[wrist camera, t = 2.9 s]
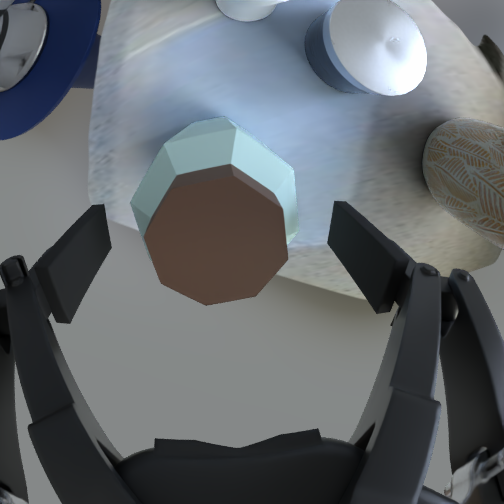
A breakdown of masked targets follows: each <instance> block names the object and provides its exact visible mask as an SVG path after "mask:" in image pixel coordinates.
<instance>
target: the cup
mask: <svg viewBox="0 0 504 504" xmlns="http://www.w3.org/2000/svg"><path fill="white" fill-rule="evenodd" d="M285 1H288V0H216V3H217V6H218V8H219V9H220V11H221V12H223V13H224V14H225V15H226V16H228V17H230V18H232V19H235V20H238V21H247V22H250V21H257V20H260V19H263V18H265V17H267V16H268V15H270V14H271V13H272V12H273V10H274V9H275V7H276V5H277V4H278V3H281V2H285Z"/></svg>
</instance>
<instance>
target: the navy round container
mask: <svg viewBox="0 0 504 504" xmlns="http://www.w3.org/2000/svg"><path fill="white" fill-rule="evenodd" d="M305 51H306V55H307V59H308V61H309V63H310V65H311V67H312V68H313V70H314V71H315V73H316V74H317V75H318V76H319V77H320V78H321V79H322V80H323V81H324V82H325V83H327V84H328V85H330V86H331V87H333V88H335V89H337V90H340V91H343V92H347V93H371V94H375V95H386V96H398V95H403V94H406V93H408V92H410V91H411V90H413V89H414V88H415V87H416V86H417V85H418V84H419V83H420V81H421V80H422V78H423V76H424V73H425V69H426V63H427V54H426V47H425V44H424V40H423V38H422V35H421V33H420V31H419V29H418V27H417V26H416V24H415V22H414V21H413V20H412V19H411V17H410V16H409V15H408V14H407V13H406V12H405V11H404V10H403V9H402V8H401V7H399V6H398V5H397V4H395V3H394V2H392V1H390V0H340V1H339V2H337V3H336V4H334V5H333V6H332V7H331V8H330V10H328V11H327V12H326V13H324V14H323V15H321V16H320V17H318V18H317V19H316V20H315V21H314V22H313V23H312V24H311V25H310V26H309V28H308V30H307V33H306V36H305Z"/></svg>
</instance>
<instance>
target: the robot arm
mask: <svg viewBox="0 0 504 504" xmlns="http://www.w3.org/2000/svg"><path fill="white" fill-rule="evenodd" d="M14 1H15V0H0V92H2V91H7V90H10V89H12V88H14V87H15V86H17V85H18V84H19V83H21V82H22V81H23V80H24V79H25V78H26V77H27V76H28V74H29V73H30V72H31V71H32V69H33V68H34V66H35V65H36V63H37V62H38V60H39V58H40V56H41V54H42V52H43V50H44V48H45V45H46V42H47V39H48V35H49V28H50V21H49V15H48V13H47V11H46V10H45V9H44V8H43V7H42V6H40V5H37V4H34V2H35V1H36V0H31V1H30V2H29V3H21V4H15V5H11V4H12V3H13V2H14ZM327 244H328V245H329V246H330V248H331V249H332V250H333V252H334V253H335V254H336V256H337V257H338V259H339V260H340V261H341V263H342V264H343V266H344V267H345V268H346V270H347V271H348V273H349V274H350V275H351V277H352V278H353V280H354V281H355V283H356V284H357V285H358V287H359V288H360V290H361V291H362V293H363V294H364V296H365V297H366V299H367V300H368V302H369V303H370V305H371V306H372V307H373V309H374V311H375V312H376V314H379V313H385V312H390V311H391V309H392V306H393V303H394V301H395V302H396V303H397V304H398V306H399V307H398V309H397V312H396V314H395V316H394V319H393V321H392V323H391V326H392V330H391V334H390V337H389V341H388V344H387V348H386V351H385V354H384V357H383V360H382V363H381V366H380V369H379V372H378V375H377V378H376V381H375V383H374V386H373V389H372V391H371V394H370V397H369V399H368V402H367V404H366V407H365V409H364V412H363V414H362V416H361V419H360V421H359V423H358V426H357V428H356V430H355V432H354V434H353V435H352V437H351V438H350V440H349V442H345V441H342V440H337V439H332V438H325V437H321V436H320V432H319V429H318V428H317V429H312V430H307V431H301V432H296V433H289V434H281V435H278V436H275V437H273V438H269V439H267V440H264V441H261V442H258V443H255V444H252V445H249V446H245V447H242V448H233V447H227V446H221V445H215V444H211V443H206V442H201V441H197V440H174V439H156V438H155V444H154V448H150V449H146V450H142V451H139V452H137V453H134V454H132V455H130V456H128V457H126V458H123V457H122V456H121V455H120V453H119V452H118V451H117V450H116V449H115V448H114V446H113V445H112V443H111V442H110V441H109V439H108V437H107V436H106V434H105V433H104V431H103V430H102V428H101V426H100V425H99V423H98V422H97V420H96V418H95V417H94V415H93V413H92V412H91V410H90V408H89V406H88V404H87V403H86V401H85V399H84V397H83V395H82V393H81V391H80V390H79V388H78V386H77V384H76V382H75V380H74V378H73V375H72V374H71V371H70V369H69V367H68V365H67V363H66V360H65V358H64V356H63V353H62V351H61V349H60V346H59V344H58V341H57V339H56V336H55V334H54V331H53V328H52V326H51V323H50V321H49V319H48V317H49V315H50V314H51V312H52V314H53V316H54V318H55V320H56V322H57V323H67V324H70V323H71V321H72V319H73V317H74V315H75V313H76V311H77V309H78V307H79V305H80V302H81V301H82V299H83V297H84V295H85V293H86V291H87V290H88V288H89V286H90V284H91V282H92V281H93V279H94V277H95V275H96V273H97V272H98V270H99V268H100V266H101V265H102V263H103V261H104V260H105V258H106V256H107V255H108V253H109V251H110V250H111V248H112V247H111V241H110V236H109V230H108V225H107V219H106V213H105V206H104V204H100V205H92V206H91V207H90V208H89V209H88V210H87V211H86V212H85V213H84V214H83V215H82V216H81V217H80V218H79V219H78V220H77V221H76V222H75V223H74V224H73V225H72V226H71V227H70V228H69V229H68V230H67V231H66V232H65V233H64V235H63V236H62V237H61V238H60V239H59V240H58V241H57V242H56V243H55V244H54V245H53V246H52V247H51V248H49V249H48V250H46V252H45V253H44V254H43V255H42V257H40V258H39V260H38V262H36V263H35V264H34V265H33V267H32V268H31V269H30V270H29V271H28V269H27V266H26V263H25V260H24V257H23V256H21V255H17V256H13V257H10V258H8V259H6V260H5V261H4V262H2V263H1V265H0V275H1V278H2V281H3V283H4V285H5V289H1V290H0V504H29V502H28V494H27V486H26V481H25V475H24V470H23V465H22V461H21V455H20V448H19V442H18V434H17V425H16V412H15V391H14V371H15V370H14V369H15V362H16V366H17V370H18V375H19V379H20V383H21V386H22V389H23V393H24V397H25V400H26V403H27V406H28V409H29V412H30V414H31V418H32V422H33V423H32V424H29V425H28V432H29V435H30V438H31V441H32V443H33V446H34V448H35V451H36V453H37V455H38V458H39V460H40V462H41V464H42V467H43V468H44V471H45V473H46V475H47V477H48V479H49V481H50V483H51V485H52V487H53V488H54V490H55V492H56V494H57V495H58V497H59V499H60V501H61V503H62V504H504V341H503V339H502V337H501V334H500V332H499V329H498V327H497V325H496V323H495V320H494V318H493V316H492V314H491V312H490V309H489V307H488V305H487V303H486V301H485V299H484V297H483V295H482V293H481V291H480V289H479V287H478V286H477V284H476V282H475V280H474V278H473V277H472V276H471V275H470V274H469V273H468V272H467V271H465V270H461V269H453V270H452V272H451V274H450V277H449V278H448V277H442V276H440V273H439V271H438V270H437V269H436V268H434V267H433V266H431V265H429V264H425V263H416V262H415V261H414V260H413V259H412V258H411V257H410V256H409V255H408V254H407V253H405V251H404V250H403V249H402V248H400V247H399V246H398V245H397V244H396V243H395V242H394V241H392V240H390V239H388V238H387V237H386V236H385V235H384V234H383V233H382V232H381V231H379V230H378V229H377V228H376V227H375V226H374V225H373V224H372V223H370V222H369V221H368V220H367V219H366V218H365V217H364V216H362V215H361V214H360V213H359V212H358V211H357V210H355V209H354V208H353V207H352V206H351V205H350V204H348V203H347V202H346V201H334V206H333V213H332V219H331V225H330V230H329V236H328V241H327ZM439 355H440V360H441V366H442V372H443V379H444V386H445V394H446V403H447V414H448V428H449V450H450V463H451V469H452V475H453V477H452V479H451V482H450V483H448V484H447V486H446V487H445V490H444V493H445V496H444V495H442V494H440V493H438V492H436V491H434V490H432V489H430V488H428V487H426V486H424V485H423V483H424V480H425V477H426V474H427V470H428V467H429V463H430V460H431V456H432V452H433V448H434V444H435V439H436V435H437V430H438V424H439V419H440V414H441V404H440V402H439V401H436V400H434V392H435V386H436V378H437V370H438V360H439Z"/></svg>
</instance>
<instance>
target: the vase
mask: <svg viewBox="0 0 504 504" xmlns="http://www.w3.org/2000/svg"><path fill="white" fill-rule="evenodd" d="M422 166H423V175H424V178H425V181H426V184H427V186H428V188H429V190H430V192H431V194H432V196H433V197H434V199H435V200H436V202H437V203H438V204H439V205H440V206H441V207H442V208H443V209H444V210H445V211H446V212H448V213H449V214H450V215H452V216H453V217H454V218H456V219H457V220H458V221H460V222H461V223H462V224H464V225H465V226H467V227H468V228H470V229H471V230H473V231H474V232H476V233H477V234H479V235H480V236H482V237H483V238H485V239H486V240H488V241H490V242H491V243H493V244H494V245H496V246H498V247H500V248H501V249H503V250H504V127H501V126H498V125H495V124H492V123H488V122H485V121H481V120H476V119H472V118H455V119H452V120H449V121H446V122H445V123H443V124H441V125H439V126H438V127H437V128H435V129H434V130H433V132H432V133H431V134H430V136H429V138H428V140H427V142H426V145H425V148H424V152H423V161H422Z"/></svg>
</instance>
